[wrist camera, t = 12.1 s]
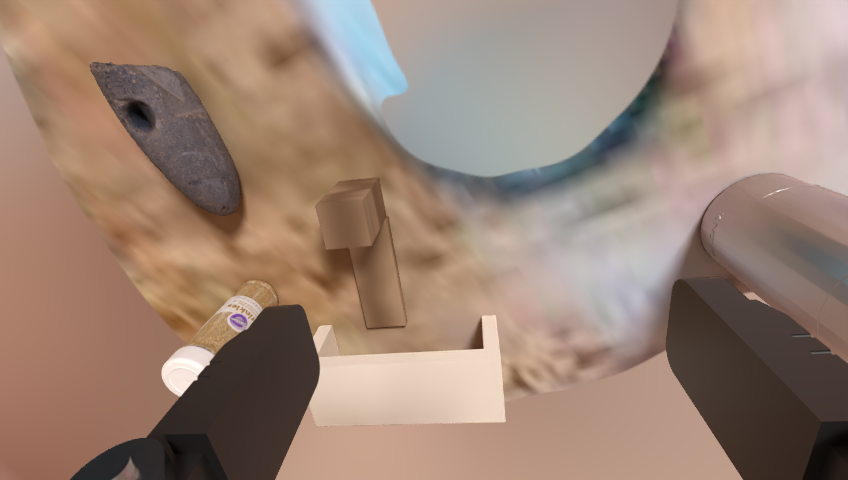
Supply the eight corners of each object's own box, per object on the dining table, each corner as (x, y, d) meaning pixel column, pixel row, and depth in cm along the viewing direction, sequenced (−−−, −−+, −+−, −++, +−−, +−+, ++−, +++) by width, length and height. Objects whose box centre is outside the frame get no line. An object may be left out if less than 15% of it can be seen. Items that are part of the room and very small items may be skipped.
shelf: (495, 315, 44) (500, 358, 38) (500, 372, 48) (505, 421, 41) (319, 325, 47) (296, 367, 41) (335, 379, 50) (316, 426, 44)
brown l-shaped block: (381, 176, 39) (364, 200, 33) (407, 320, 46) (397, 363, 39) (337, 181, 40) (312, 205, 34) (369, 322, 46) (353, 365, 40)
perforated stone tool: (267, 195, 41) (231, 220, 35) (224, 212, 42) (183, 239, 36) (180, 41, 36) (119, 39, 30) (134, 66, 37) (67, 68, 31)
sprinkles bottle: (285, 290, 46) (219, 376, 33) (271, 319, 47) (204, 410, 35) (247, 271, 45) (165, 351, 33) (234, 301, 47) (153, 387, 35)
